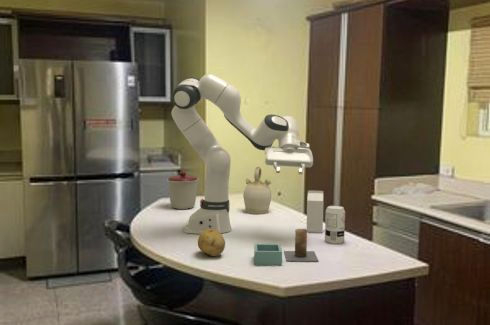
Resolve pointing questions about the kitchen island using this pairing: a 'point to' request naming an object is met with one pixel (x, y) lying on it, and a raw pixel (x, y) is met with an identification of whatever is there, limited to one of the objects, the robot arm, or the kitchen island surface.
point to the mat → (292, 258)
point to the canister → (182, 190)
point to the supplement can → (334, 224)
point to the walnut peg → (300, 242)
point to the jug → (257, 194)
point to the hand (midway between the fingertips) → (289, 172)
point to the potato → (211, 242)
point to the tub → (267, 254)
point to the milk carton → (315, 211)
